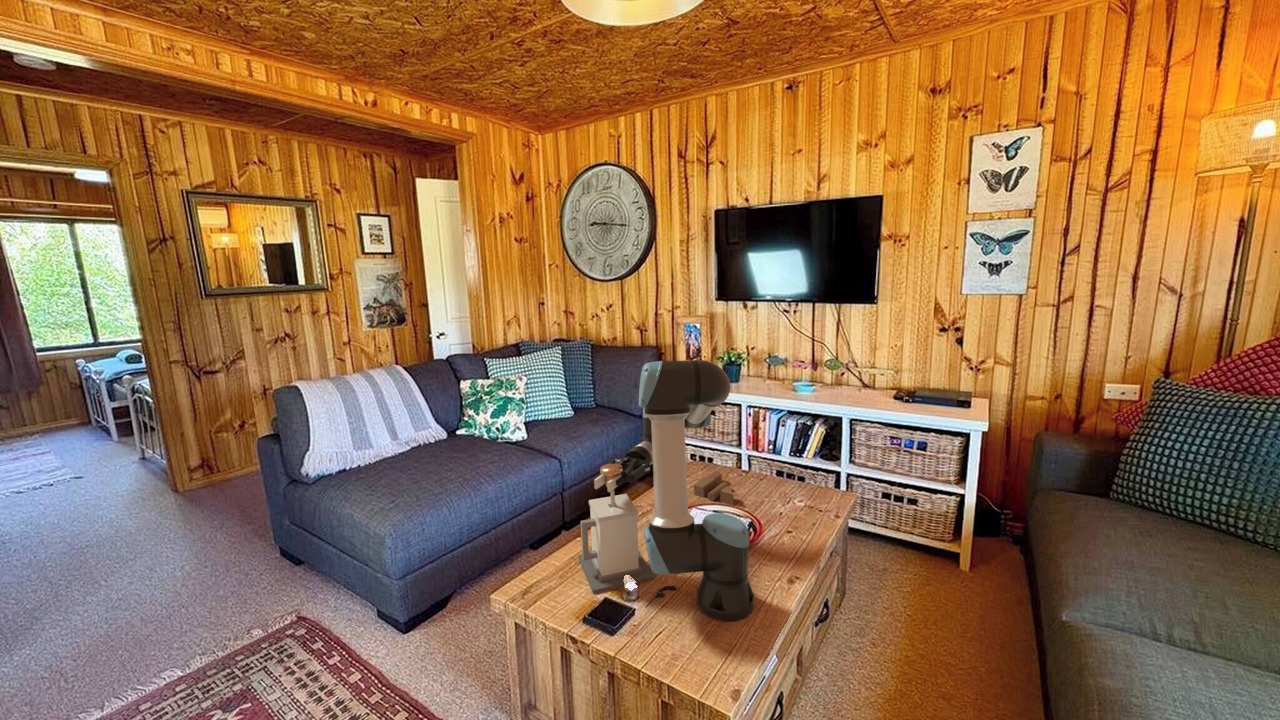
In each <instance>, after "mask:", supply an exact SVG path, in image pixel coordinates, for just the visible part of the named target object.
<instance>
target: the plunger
mask: <svg viewBox="0 0 1280 720" xmlns="http://www.w3.org/2000/svg"><path fill="white" fill-rule="evenodd" d="M605 464H606V463H605ZM605 464H603V465H602V466H600V468H599V472H600V471H601V474H602V475H604V476H606V483H605V486H606V487H607V482H609V481H610V480H611V479H613V478H614V477H615V476H618V475H620V474H621V475H622V473H623V466H621V465H619V464H606V465H605ZM615 489H616V488H615ZM615 489H613V490H612V491H611V492H609V493H610V496H611V508H612V507H615V496H616V495H615V493H616V492H615V491H616V490H615Z"/></svg>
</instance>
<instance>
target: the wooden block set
mask: <svg viewBox="0 0 1280 720" xmlns="http://www.w3.org/2000/svg"><path fill="white" fill-rule="evenodd" d="M693 495H694V496H696V497H697V496H698V497H702V498H705V497H707V499H708V500H709V501H710V502H711V501H712V502H714V501H715V500H716V499H717V498H719V501H720V503H723V504H726V505H729V506H732V507H733V506H734V504H735V503H734V500H735V499H734V497H735V496H734V492H733V491H732V490H731V487H730V484H729V483H728V482H726V481H723V475H722V473H721V471H719V470H714V471H713V472H711V473H710V474H709V475H707V476H705V477H703V478H701V479H699V480H698V481H697V482H695V483H694V484H693Z"/></svg>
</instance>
